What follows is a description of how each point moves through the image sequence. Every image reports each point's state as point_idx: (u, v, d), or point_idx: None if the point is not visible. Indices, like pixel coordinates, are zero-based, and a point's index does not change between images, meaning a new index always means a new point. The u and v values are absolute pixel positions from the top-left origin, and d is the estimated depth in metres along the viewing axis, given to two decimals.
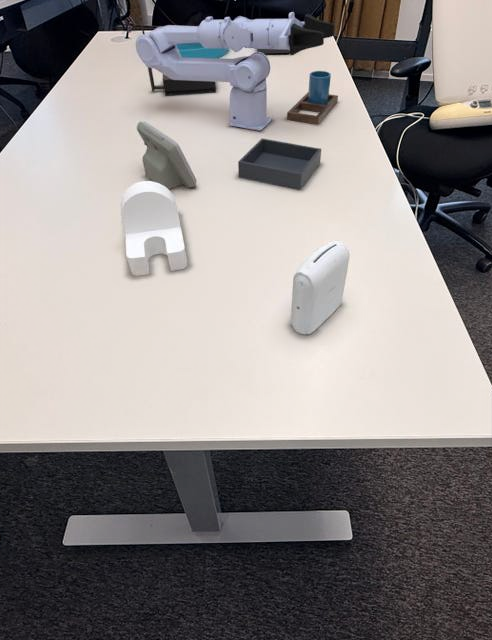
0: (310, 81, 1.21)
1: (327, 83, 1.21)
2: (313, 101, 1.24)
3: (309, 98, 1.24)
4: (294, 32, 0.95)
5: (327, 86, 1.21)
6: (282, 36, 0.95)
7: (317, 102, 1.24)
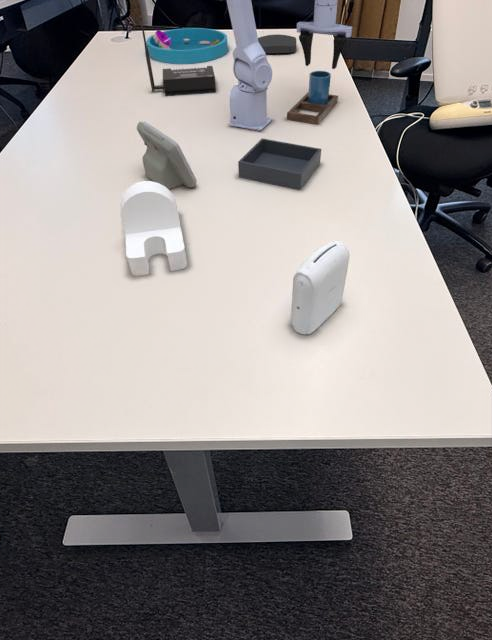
0: (310, 81, 1.21)
1: (327, 83, 1.21)
2: (313, 101, 1.24)
3: (309, 98, 1.24)
4: None
5: (327, 86, 1.21)
6: None
7: (317, 102, 1.24)
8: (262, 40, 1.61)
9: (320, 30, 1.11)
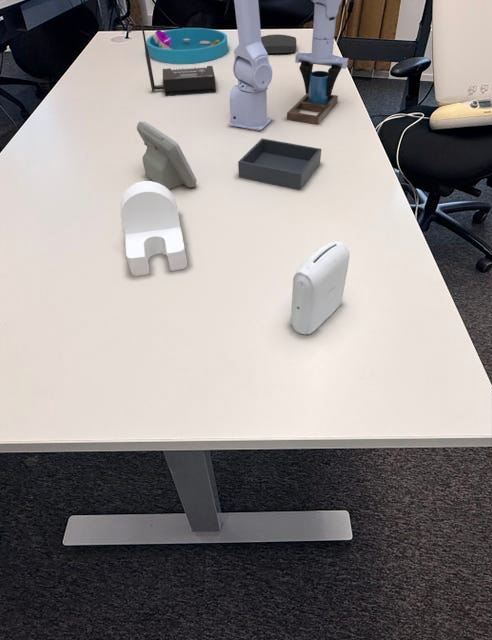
0: (310, 81, 1.21)
1: (327, 83, 1.21)
2: (313, 101, 1.24)
3: (309, 98, 1.24)
4: None
5: (327, 86, 1.21)
6: None
7: (317, 102, 1.24)
8: (262, 40, 1.61)
9: (318, 62, 1.16)
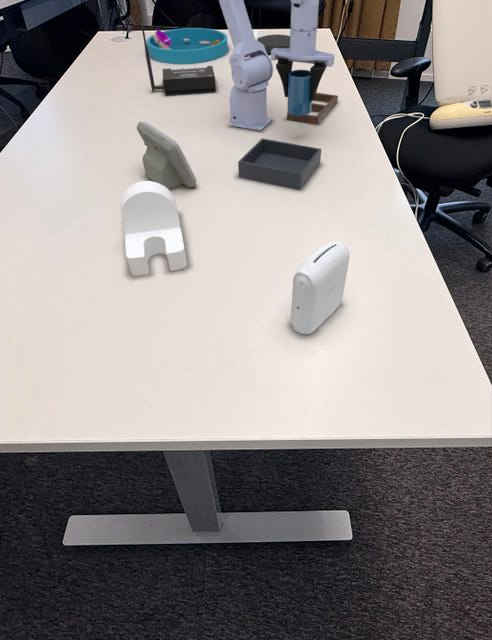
0: (289, 82, 1.01)
1: (309, 84, 1.00)
2: (293, 106, 1.03)
3: (289, 102, 1.04)
4: (324, 69, 0.99)
5: None
6: None
7: (298, 107, 1.03)
8: (262, 40, 1.61)
9: (297, 58, 0.96)
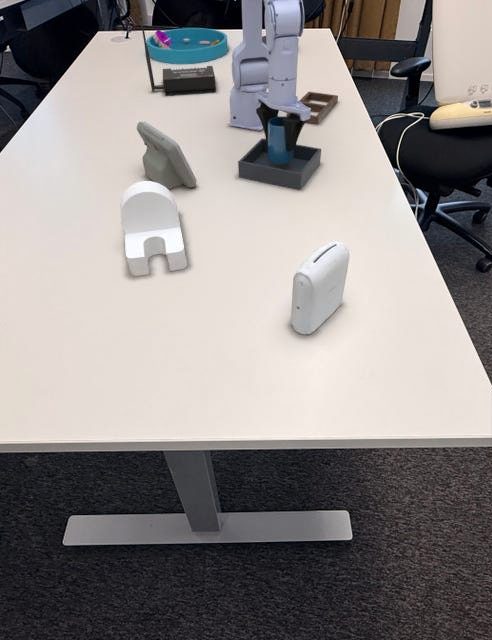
0: (268, 128, 0.94)
1: None
2: (270, 153, 0.97)
3: None
4: (304, 121, 0.91)
5: None
6: None
7: (274, 155, 0.96)
8: (262, 40, 1.61)
9: (271, 107, 0.89)
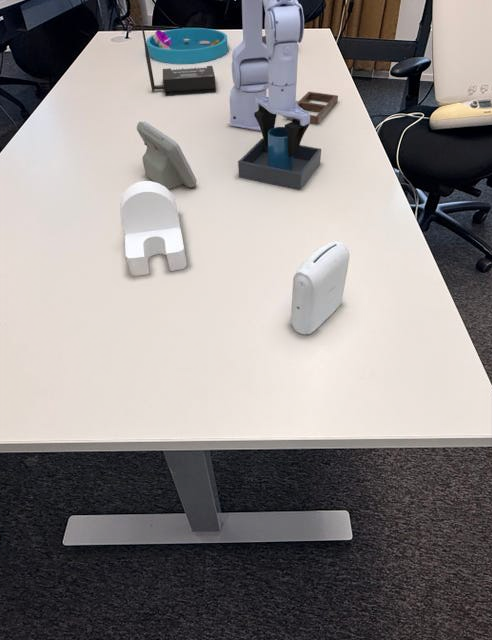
0: (268, 138, 0.96)
1: (286, 145, 0.94)
2: (270, 163, 0.99)
3: (268, 158, 0.99)
4: (306, 127, 0.91)
5: (286, 148, 0.95)
6: None
7: (274, 165, 0.98)
8: (262, 40, 1.61)
9: (271, 112, 0.90)
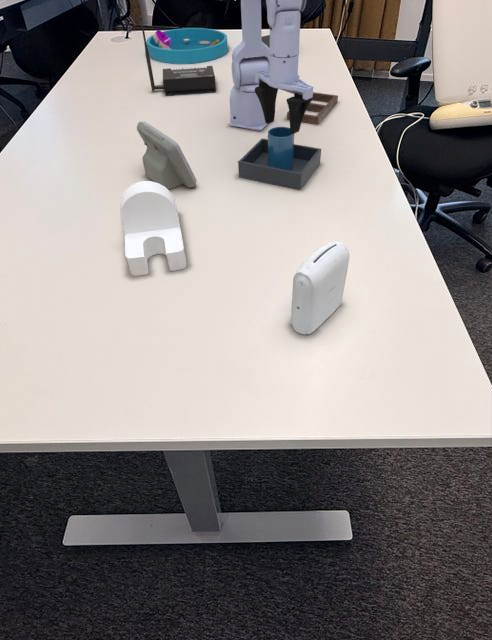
0: (268, 138, 0.96)
1: (286, 145, 0.94)
2: (270, 163, 0.99)
3: (268, 158, 0.99)
4: (308, 101, 0.88)
5: (286, 148, 0.95)
6: None
7: (274, 165, 0.98)
8: (262, 40, 1.61)
9: (272, 86, 0.87)
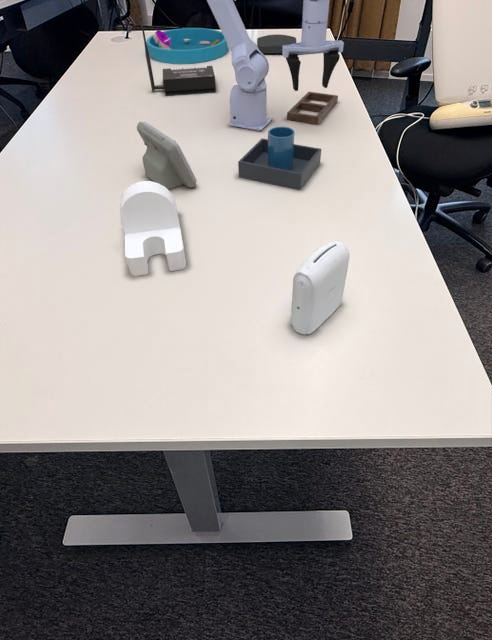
0: (268, 138, 0.96)
1: (286, 145, 0.94)
2: (270, 163, 0.99)
3: (268, 158, 0.99)
4: None
5: (286, 148, 0.95)
6: None
7: (274, 165, 0.98)
8: (262, 40, 1.61)
9: (317, 50, 1.00)
